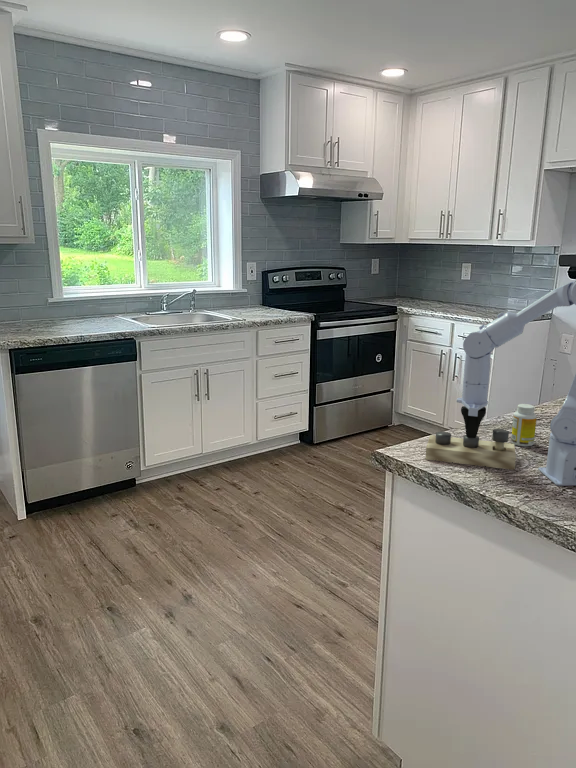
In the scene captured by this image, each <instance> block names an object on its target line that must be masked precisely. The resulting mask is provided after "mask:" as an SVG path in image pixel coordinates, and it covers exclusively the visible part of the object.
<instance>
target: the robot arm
mask: <svg viewBox="0 0 576 768" xmlns="http://www.w3.org/2000/svg"><path fill="white" fill-rule="evenodd" d="M572 305H575V306H576V279H575V280H574V281H571V282H568V283H566V284H563V285H561V286H559V287H557V288H554V289H553V290H551V291H550V292H548V293H546V294H544V295H543V296H542V297H540V298H539V299H537V300H535V301H534V302H532V303H531V304H529V305H528V306H527V307H525V308H523V309H521V310H519V311H518V312H513V311H507V312H505V313H504V312H500V313H498V314H497V315H496V317H497V318H495V319H494V320H492V321H490V322H489V323H487V324H486V325H485V324H481V325H480V326H479V327H478V329H479V330H477V331H473V332H470V333H469V334H468V335H467V336H466V337H465V338H464V340H463V343H462V348H463V352H465V353H464V354H465V356H464V357H465V358H464V359H465V360H464V369H463V377H462V378H463V381H462V390H461V391H462V393H461V394H462V395H461V397H457V398H456V403H459V404H462V406H461V408H460V413H461V415H462V418H463V421H464V427H465V429H464V430H465V435H466V436H467V437H469V438H476V436H478V433H479V429H480V425H481V423H482V421H483V419H484V418H485V416H486V414H487V406H488V405H489V401H488V397H489V396H488V395H489V394H488V393H489V383H490V372H491V357H492V352H493V351H494V350H495V348H499V347H501V346H503V345H505V344H506V343H508V342H509V341H512V340H513V339H514V338H517V337H518V336H520V335H521V334H523V333H524V329H525V326H526V325H527V324H529V323H531V322H532V321H534V320H536V319H538V318H540V317H541V316H543V315H545V314H547V313H549V312H551V311H553V310H554V309H556V308H559V307H570V306H572ZM549 428H550V433H549V439H548V450H547V456H546V457H547V458H546V466H544V467H538V468H537V469H538V471H539V472H540V473H542V475H544V476H546V478H547V479H549V480H550V481H551V482H552V483H553V484H555V485H556V486H558V487H559V486H560V487H561V486H563V487H564V486H576V373H575V374H574V377H573V379H572V381H571V385H570V387H569V390H568V393H567V395H566V397H565V399H564V401H563V404H562V406H561V408H560V409H559V410H558V412H557V414H556V415H555V416H554V417H553V418H552V419H551V422H550V425H549Z"/></svg>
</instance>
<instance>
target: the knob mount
mask: <svg viewBox="0 0 576 768" xmlns="http://www.w3.org/2000/svg"><path fill="white" fill-rule="evenodd" d="M435 440H436V434H434V435H433V434H430V436H429V437H428V441H427V444H426V447H425V460H427V461H435V460H436V462H443V461H444V462H445V463H452V462H453V463H454V464H463V465H470V466H477V465H478V466H479V467H485V466H486V467H487V468H493V469H494V468H496V469H503V470H504V469H505V470H511V471H515V468H516V460H517V456H516V447H515V446H516V445H515V444H513V443H512V442H511V443H510V442H509V443H508V442H504V451H496V450H495V441H493V440H492V441H490V440H480V439H479V446H478V447H477V448H468V447H465V446H463V438H461V437H454V436H451V443H450V444H449V445H440V444H437V443H436V442H435ZM444 462H443V463H444ZM453 463H452V464H453ZM478 466H477V467H478ZM486 467H485V468H486Z"/></svg>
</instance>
